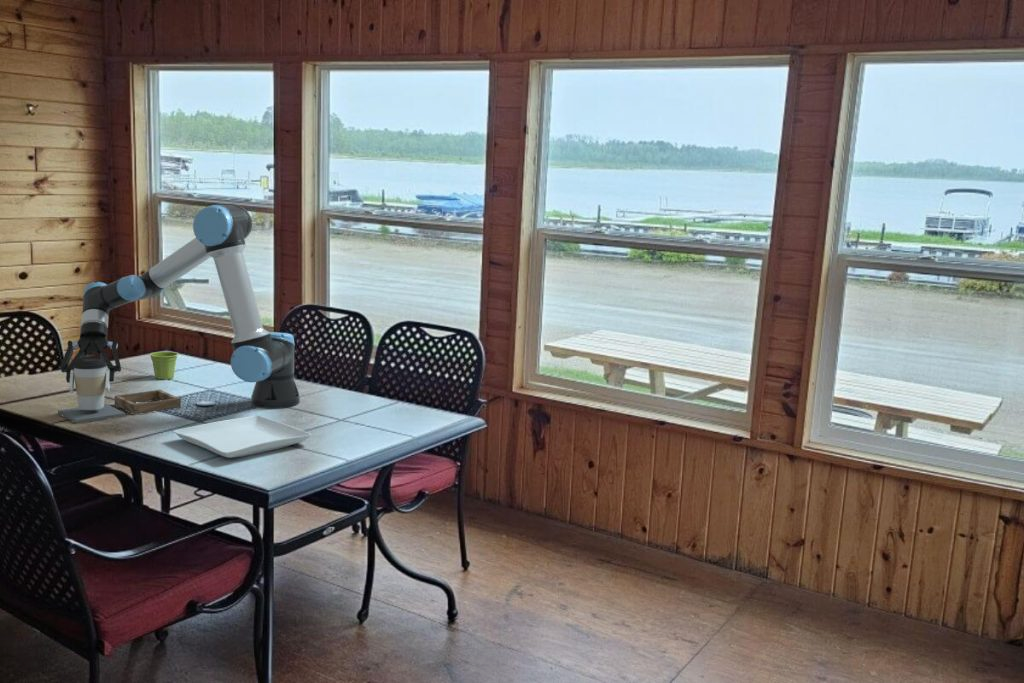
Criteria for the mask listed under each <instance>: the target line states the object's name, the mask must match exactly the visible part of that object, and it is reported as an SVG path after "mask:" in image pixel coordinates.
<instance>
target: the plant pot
mask: <svg viewBox="0 0 1024 683" xmlns="http://www.w3.org/2000/svg"><path fill="white" fill-rule="evenodd" d="M149 356H150V360H151V362H152V366H153V367H152V368H153V371H154V378H155V379H157V378H158V380H160V379H164V380H165V379H167V380H169V379H171V378H172V379H174V378H175V377H174V376H175V370H176V362H177V358H178V356H179V353H178V352H176V351H175V352H174V351H156V352H151V353H149Z"/></svg>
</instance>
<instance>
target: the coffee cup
mask: <svg viewBox="0 0 1024 683" xmlns="http://www.w3.org/2000/svg"><path fill="white" fill-rule="evenodd" d="M106 367H107V365H106V362H105V361H103V359H102V357H101V356H100V357H99V356H98V357H97V356H85V357H82V358H78V359H77V361H76V362H74V366H73V368H74V373H75V374H74V386H75V392H76V396H77V403H78V404H77V405H78V407H79V409H82V410H96V409H101V408H103V407H104V404H105V396H106V395H105V394H106V388H105V387H106V373H107V368H106Z"/></svg>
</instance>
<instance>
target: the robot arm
mask: <svg viewBox="0 0 1024 683" xmlns="http://www.w3.org/2000/svg"><path fill="white" fill-rule="evenodd" d="M192 223H193V224H192V229H193V234H194V236H195V237H194V238H193V239H191V240H190V241H188V242H187V243H185V244H184V245H183V246H182V247H179V248H178V249H177V250H175V251H173V252H172V253H171V254H170V255H168V256H167V257H165V258H164V259H162V260H161V261H160V262H158V263H156V264H155V265H154V266H152V267H150V269H148V270H147V271H145V272H144V273H142V274H141V275H136V274H130V275H127V276H123V277H121V278H120V279H117V280H115V281H113V282H110V283H108V284H107V283H104V282H102V281H97V282H94V281H93V282H89V283H88V284H87V285H86V286H85V287H84V292H83V295H82V311H81V312H82V313H81V320H80V321H81V322H80V333H79V339H78V340H77V341H74V342H73V341H72V340H68V341H67V348H66V351H65V353H64V356H63V358H62V361H61V363H60V366H59V368H60V372H62V373H63V374H64V373H66V375H65V380H66V381H65V382H66V383H69V384H68V391H69V394H72V395H73V394H74V390H75V389H74V388H75V378H74V374H75V373H74V368H73V366H74V362H76V361H77V359H78V358H82V357H87V356H90V355H91V356H92V355H94V356H100V358H102V360H103V361H105V362H106V365H107V366H106V367H107V368H106V385H105V394H106V393H108V394H109V393H110V386H111V383H112V382H114V381H115V373H116V372H121V371H122V366H121V362H120V358H119V354H118V348H119V344H118V341H117V339H116V340H112V341H109V340H108V332H109V331H108V330H109V329H108V328H109V316H110V311H111V310H113V309H116V308H118V307H121V306H123V305H126V304H128V303H129V304H130V303H132V302H137V301H141V300H147V299H153V298H155V297H158V296H160V295H161V294H162V293H163V292H164V290H165V289H166V288H167V287H169V286H170V285H171V284H173V283H174V282H176V281H177V280H179V279H180V278H182V277H183V276H185V275H187V274H188V273H189V272H191V271H192V270H194V269H195V268H197V267H199V265H201V264H203V263H204V262H206V261H207V260H209V259H210V258H212V259H213V261H214V264H215V268H216V272H217V275H218V278H219V279H218V280H219V282H220V286H221V290H222V293H223V298H224V301H225V304H226V309H227V313H228V316H229V319H230V323H231V326H232V330H233V335H234V336H233V338H232V340H231V341H230V342H231V346H232V350H233V352H232V355H231V357H230V367H231V370H232V373H233V374H234V375H235V376H236V377H237V378H238V379H240V380H242V381H244V382H245V383H246V382H247V383H255V384H254V387H253V389H252V392H251V393H252V394H251V397H250V398H251V399H250V402H251V405H253V406H254V407H257V408H258V407H259V408H265V409H282V408H283V409H285V408H290V407H295V406H297V405H299V404H300V398H301V397H300V393H299V390H298V387H297V384H296V380H295V346H296V344H295V339H294V338H295V336H294V335H293V334H292V333H286V332H275V331H273V332H272V331H268V330H266V329H265V328H264V325H263V323H262V320H261V315H260V313H259V309H258V306H257V305H258V304H257V301H256V297H255V293H254V290H253V286H252V283H251V279H250V276H249V275H250V274H249V271H248V268H247V264H246V260H245V255H244V252H243V251H244V250H245V248H246V247H247V244H246V240H245V239H247V238H248V236H249V235H250V234H251V232H252V229H253V219H252V217H251V214H250V213H249V211H248V210H247V209H246V208H244V207H243V206H241V205H240V204H239V205H238V204H234V203H233V204H230V203H229V204H212V205H208V206H205V207H203V208H201V209H200V210H199V211H197V214H196V215H195V217H194V219H193V222H192ZM77 347H78V348H79V349H78V352H77V353H76V355H75V356H74V357H73V359H72V356H73V353H74V351H75V350H76V349H77ZM108 347H109V349H110V350H112V354H113V358H114V364H115V365H114V364H113V362H112V361H111V360H110V358H109V356H108V354H107V352H106V351H105V350H106V349H107V348H108ZM71 359H72V360H71Z"/></svg>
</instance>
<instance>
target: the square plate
mask: <svg viewBox="0 0 1024 683" xmlns="http://www.w3.org/2000/svg"><path fill="white" fill-rule="evenodd" d="M172 433H173V434H175V435H177V436H178V437H179V438H180V439H182V440H184V441H186V442H188V443H190V444H192V445H196V446H198V447H201V448H203V449H205V448H206V450H208V451H211V452H213V453H215V454H217V455H219V456H221V457H224V458H227V459H228V458H229V459H232V458H233V459H234V458H242V457H247V456H252V455H256V454H260V453H265V452H270V451H273V450H277V449H282V448H287V447H289V446H291V445H296V444H300V443H302V442H305V441H306V440H308V439H309V438H310V437H311V436H312V433H311V432H307V431H305V430H303V429H300V428H297V427H294V426H292V425H288V424H286V423H283V422H280V421H277V420H275V419H274V420H273V419H272V418H271V419H270V418H267V417H264V416H261V415H251V416H245V417H237V418H232V419H227V420H218V421H215V422H208V423H203V424H197V425H193V426H188V427H184V428H180V429H179V428H178V429H175V430H173V431H172Z"/></svg>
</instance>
